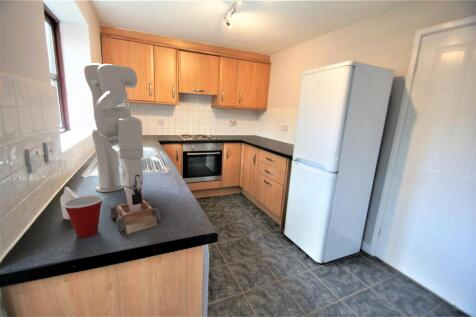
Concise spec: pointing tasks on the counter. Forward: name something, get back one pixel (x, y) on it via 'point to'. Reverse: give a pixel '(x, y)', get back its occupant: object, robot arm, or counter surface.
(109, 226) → the counter surface
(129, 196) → the smoothie
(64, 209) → the roll
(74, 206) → the plastic cup
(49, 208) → the counter surface
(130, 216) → the chassis
